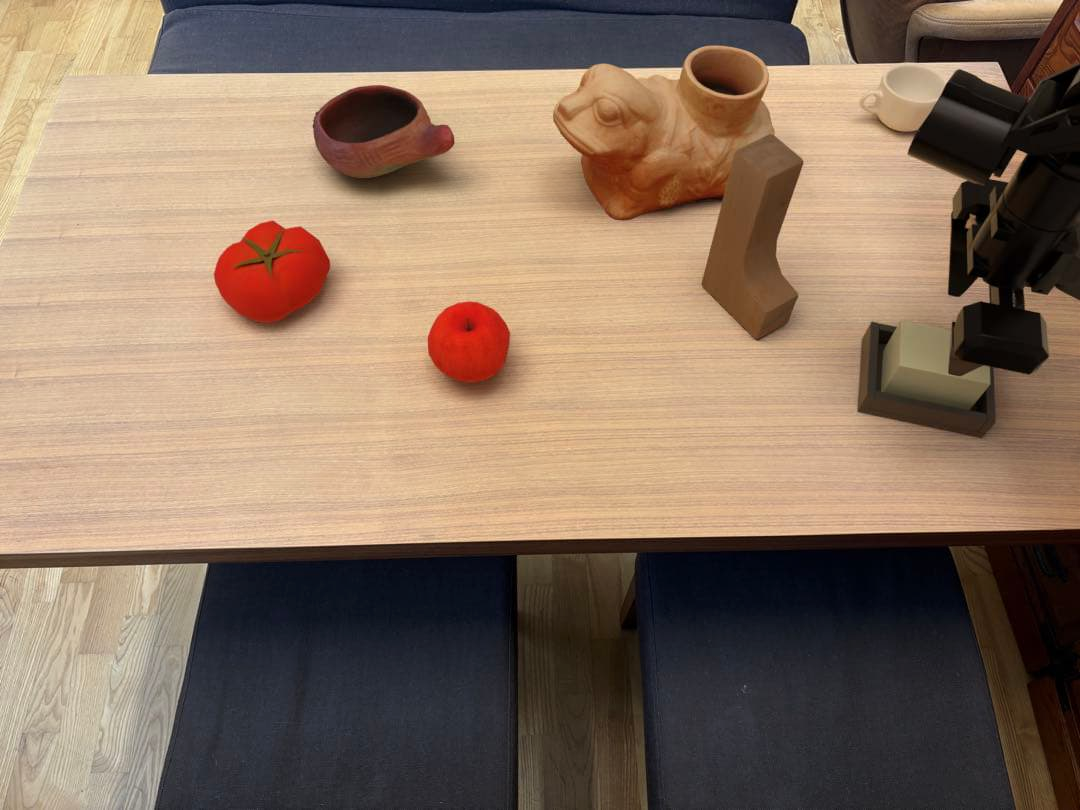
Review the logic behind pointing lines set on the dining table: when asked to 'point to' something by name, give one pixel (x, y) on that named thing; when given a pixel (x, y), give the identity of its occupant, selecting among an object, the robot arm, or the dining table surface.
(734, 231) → the wooden block
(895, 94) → the teacup
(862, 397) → the mount
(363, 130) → the bowl
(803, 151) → the dining table surface
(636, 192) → the ceramic vessel
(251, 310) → the tomato
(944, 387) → the olive green block
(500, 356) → the apple
